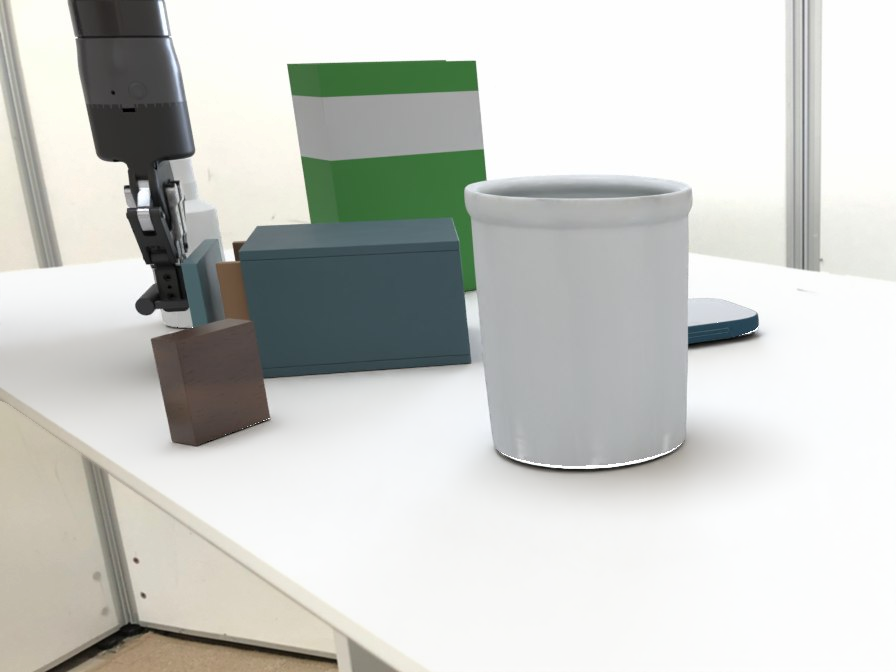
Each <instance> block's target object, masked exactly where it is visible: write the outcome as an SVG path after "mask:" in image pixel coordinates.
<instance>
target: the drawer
mask: <svg viewBox="0 0 896 672" xmlns="http://www.w3.org/2000/svg"><path fill="white" fill-rule="evenodd" d="M245 242H246V240H235V241H232V243H231V246H232V250H233V256H234V260H233V261H232V260H230V261H229V260H227V261H226V262H222V257H221V251H220V245H219V240H218V239H205V240H204V241H203V242H202V243H201V244H200V245H199V246H198V247H197V248H196V249H195V250H194V251H193V252H192V253H191V254H190V255H189V256H188V258H187V259H186V260H185V261H184V262H183V263H182V264H181V267H182V272H183V277H184V283H185V288H186V293H187V298H188V299H184V300H166V301H160V296H159V291H158V286H157V283H155V282H154V283H153V284H151V286H150V287H148V289H147V290H146V291H145V292H144V293H143V294H141V296H140V297H139V298H138V299H137V300H136V301H135V304H134V308H135V310H136V312H137V313H138V314H140V315H142V316H144V317H145V316H151V315H152V314H154V312H156V310H160V309H169V308H186V307H189V309H190V314H191V319H192V324H193V327H197V326H201V325H205V324H208V323H212V322H216V321H220V320H224V319H228V318H231V319H240V320H248V321H250V317H249V311H248V305H247V299H246V294H245V288H244V282H243V276H242V271H241V265H240V259H239V253H238V251H239V250H240V248H241V247H242V246H243V244H244V243H245Z"/></svg>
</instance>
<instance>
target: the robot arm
mask: <svg viewBox="0 0 896 672" xmlns="http://www.w3.org/2000/svg"><path fill="white" fill-rule="evenodd" d="M66 3H67V6H68V12H69V17H70V20H71V25H72V30H73V35H74V37H75V45H76V58H77V70H78V75H79V79H80V85H81V89H82V94H83V99H84V103H85V107H86V112H87V113H86V114H87V118H88V122H89V127H90V132H91V136H92V141H93V145H94V151H95V154H96V156H97V158H98V159H99V160H100V161H103V162H106V163H107V162H108V163H124V165H126V167H127V178H128V184H124V185H123V193H124V198H125V201H126V202H125V203H126V205H127V208H126V212H125V216H126V219H127V220H128V222H129V226H130V228H131V230H132V233H133V235H134V238H135V240H136V244H137V245H138V248H139V251H140V253H141V256H142V260H143V261H144V263H145V265H146V266H147V265H148V266H150V269H151V270H152V269H154V268H155V269H154V272H155V276H156V281H157V286H158V291H159V296H160V301H166V300H184V299H188V298H187V293H186V288H185V283H184V277H183V272H182V267H181V264H182V263H183V262H184V261H185V260H186V259H187V256H186V254H185V253H187V252H188V243H187V233H186V232H187V227H186V217H185V202H184V201H185V195H184V192H183V187H182V183H181V180H174V176H173V172H172V169H171V165H170V162H169V161H170V160H179V159H185V158H189V157H190V158H193V156H194V155H195V153H196V146H195V139H194V135H193V134H194V133H193V129H192V123H191V117H190V112H189V106H188V102H187V95H186V91H185V84H184V79H183V74H182V69H181V65H180V61H179V58H178V55H177V52H176V49H175V46H174V42H173V38H172V37H171V36H172V32H171V26H170V22H169V16H168V9H167V4H166V1H165V0H67V2H66ZM188 308H189V307H186V308H169V309H163V310H164V311H166V312H179V311H186V310H188Z"/></svg>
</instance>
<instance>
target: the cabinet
mask: <svg viewBox="0 0 896 672" xmlns="http://www.w3.org/2000/svg"><path fill="white" fill-rule="evenodd" d="M245 241H246V242H245V243H244V244H243V246H242V247H241V248H240V250H239V251H238V253H239V259H240V265H241V271H242V276H243V282H244V288H245V294H246V299H247V305H248V311H249V317H250V321H254V326H255V332H256V338H257V344H258V350H259V355H260V361H261V367H262V373H263V379H267V378H279V377H280V378H281V377H294V376H295V377H296V376H309V375H311V376H312V375H323V374H336V373H338V374H339V373H348V372H349V373H351V372H353V373H354V372H365V371H379V370H393V369H394V370H395V369H408V368H409V369H410V368H421V367H422V368H423V367H436V366H437V367H438V366H449V365H463V364H471V363H472V356H471V355H472V354H471V344H470V336H469V325H468V315H467V314H468V313H467V305H466V297H465V291H464V285H463V275H462V265H461V255H460V245H459V239H458V236H457V233H456V229H455V226H454V223H453V220H452V218H451V217H450V218H427V219H404V220H382V221H359V222H336V223H313V224H311V223H291V224H270V225H269V224H268V225H267V224H266V225H256V227H255V228H254V229H253V231H252V232H251V233H250V235H249V236H248V238H247V239H246V240H245Z"/></svg>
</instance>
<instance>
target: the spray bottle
mask: <svg viewBox="0 0 896 672" xmlns="http://www.w3.org/2000/svg"><path fill="white" fill-rule="evenodd" d="M169 162H170V165H171V169H172V172H173V176H174V180H181V183H182V187H183V192H184V195H185V201H184V202H185V217H186V227H187V232H186V233H187V243H188V252H187V253H185V254H186V256H187V258H188V256H189V255H190V254H191V253H192V252H193V251H194V250H195V249H196V248H197V247H198V246H199V245H200V244H201V243H202V242H203V241H204V240H205V239H218V240H219V245H220V251H221V257H222V262H227V261H226V256H225V255H226V254H225V250H224V245H223V239H222V232H221V227H220V222H219V215H218V210H217V208H216V207H215V205H213V204H211V203H209V202H208V201H205V200H203V199H201V198H200V196H199V190H198V185H197V181H196V179H195V178H196V177H195V174H194V168H193V163H192V157H189V158H185V159H179V160H170V161H169ZM154 269H155V268H154ZM154 269H152V268H151V270H152V275H153V280H154V284H155V283H157V281H156V276H155V272H154ZM159 310H160V315H161V320H162V322H163V324H164V325H165V326H168V327H170V328H171V327H172V328H177V327H178V328H179V329H189V328H192V327H193V324H192V319H191V314H190V309H189V308H188V310H186V311H179V312H166V311H164V310H163V309H159Z"/></svg>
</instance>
